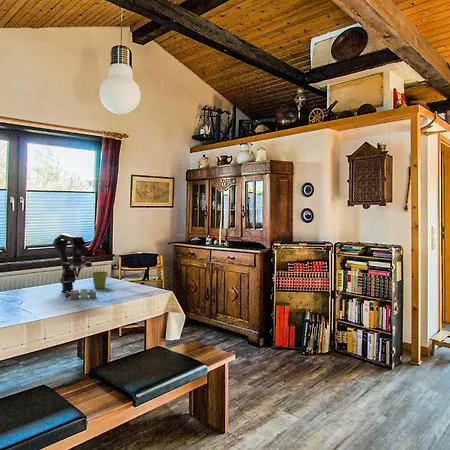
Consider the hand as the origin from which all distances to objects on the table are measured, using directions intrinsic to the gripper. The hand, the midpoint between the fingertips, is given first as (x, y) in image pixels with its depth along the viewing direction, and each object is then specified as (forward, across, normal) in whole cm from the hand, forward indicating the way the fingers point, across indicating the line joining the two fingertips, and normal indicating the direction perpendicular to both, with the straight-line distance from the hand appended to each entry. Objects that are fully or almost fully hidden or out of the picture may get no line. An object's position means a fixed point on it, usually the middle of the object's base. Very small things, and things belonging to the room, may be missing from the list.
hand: (77, 277), depth 265 cm
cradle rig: (+12, +4, -12) cm, 17 cm away
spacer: (+12, +4, -12) cm, 17 cm away
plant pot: (+12, +16, +20) cm, 28 cm away
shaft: (+11, +1, -12) cm, 16 cm away
